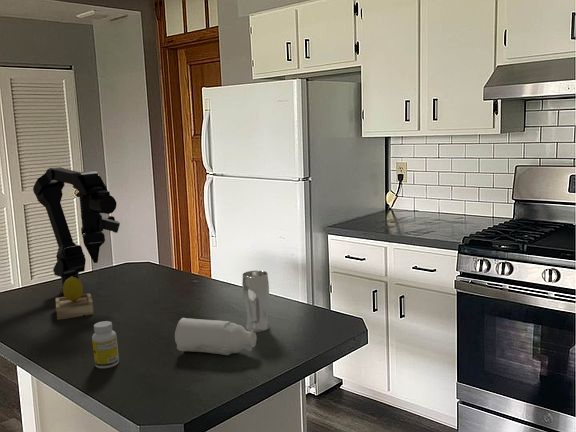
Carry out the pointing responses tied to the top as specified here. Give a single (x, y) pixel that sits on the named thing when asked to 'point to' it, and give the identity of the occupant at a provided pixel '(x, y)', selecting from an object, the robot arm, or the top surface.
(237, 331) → the white plastic bottle
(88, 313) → the wooden serving tray
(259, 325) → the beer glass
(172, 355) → the top surface
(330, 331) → the top surface
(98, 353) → the supplement bottle
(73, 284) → the lemon
